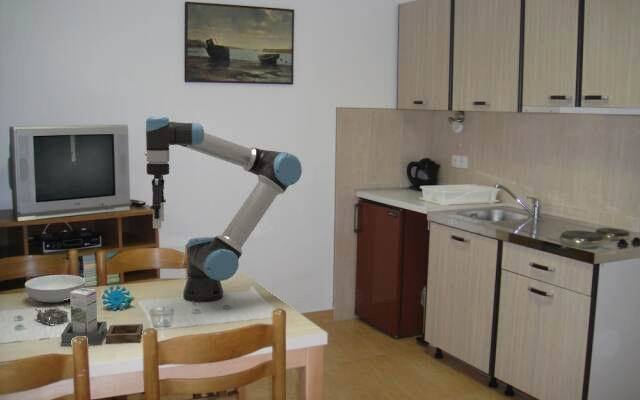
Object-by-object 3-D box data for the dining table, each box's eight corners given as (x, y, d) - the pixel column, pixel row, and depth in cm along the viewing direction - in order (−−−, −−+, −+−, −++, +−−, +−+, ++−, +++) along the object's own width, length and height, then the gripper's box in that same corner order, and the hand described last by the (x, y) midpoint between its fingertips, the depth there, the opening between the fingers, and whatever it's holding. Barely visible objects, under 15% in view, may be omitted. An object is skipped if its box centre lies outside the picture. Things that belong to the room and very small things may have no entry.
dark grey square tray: (107, 331, 212) (107, 321, 211) (101, 344, 200) (101, 333, 200) (68, 333, 210) (68, 322, 209) (60, 346, 198) (60, 334, 198)
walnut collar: (142, 331, 213) (142, 323, 212) (139, 342, 203) (139, 334, 203) (110, 332, 211) (110, 325, 211) (105, 343, 201) (105, 335, 201)
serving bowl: (25, 310, 232) (24, 291, 231) (25, 294, 251) (25, 277, 250) (88, 304, 240) (87, 286, 240) (83, 289, 259) (83, 272, 259)
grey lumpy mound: (33, 320, 222) (33, 308, 222) (55, 315, 228) (54, 304, 227) (49, 327, 215) (48, 315, 215) (71, 322, 221) (70, 310, 220)
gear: (99, 307, 231) (104, 283, 237) (99, 315, 236) (103, 291, 242) (132, 310, 234) (135, 286, 240) (131, 318, 238) (134, 294, 244)
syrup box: (98, 333, 207) (97, 288, 205) (86, 340, 201) (85, 293, 199) (82, 331, 208) (81, 287, 206) (70, 337, 202) (69, 291, 200)
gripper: (149, 159, 235) (150, 218, 238) (143, 165, 211) (143, 231, 214) (171, 160, 237) (171, 218, 239) (167, 166, 212) (167, 231, 215)
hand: (158, 224), depth 227 cm, fingers open, 13 cm apart
